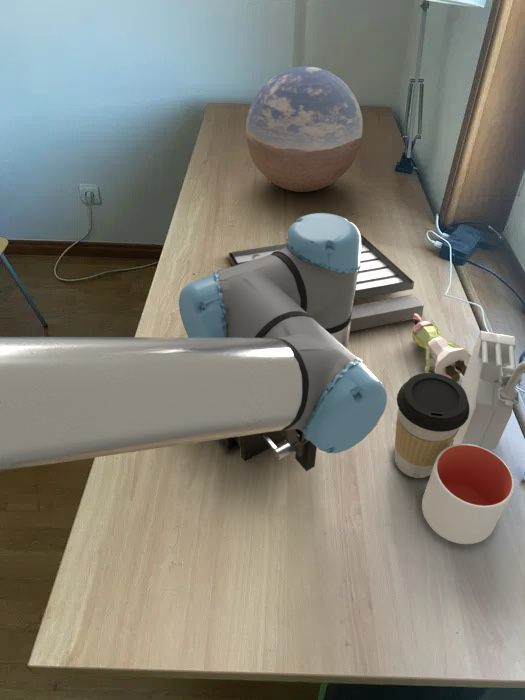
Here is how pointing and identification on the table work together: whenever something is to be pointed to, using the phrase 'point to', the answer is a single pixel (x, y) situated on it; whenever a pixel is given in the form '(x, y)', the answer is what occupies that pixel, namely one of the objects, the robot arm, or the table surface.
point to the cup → (466, 493)
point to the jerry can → (490, 390)
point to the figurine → (440, 350)
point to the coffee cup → (427, 421)
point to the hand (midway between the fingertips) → (304, 462)
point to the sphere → (304, 129)
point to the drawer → (262, 445)
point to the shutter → (365, 286)
